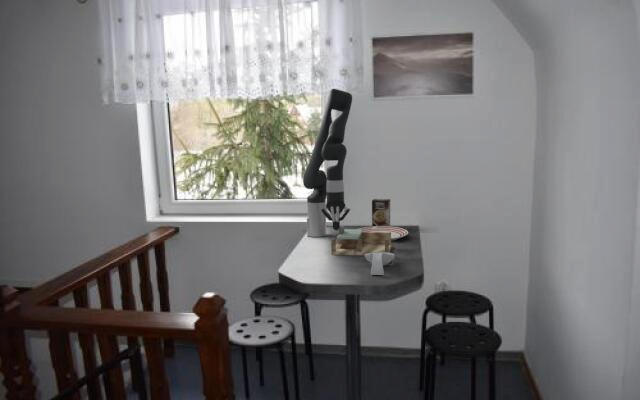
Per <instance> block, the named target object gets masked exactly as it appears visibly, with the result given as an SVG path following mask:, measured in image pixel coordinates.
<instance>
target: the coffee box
mask: <svg viewBox="0 0 640 400" xmlns="http://www.w3.org/2000/svg"><path fill="white" fill-rule="evenodd" d="M374 226H390V227H391V199H390V198H387V199H386V198H384V199H383V198H374V199H371V227H374Z"/></svg>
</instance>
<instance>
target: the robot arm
mask: <svg viewBox="0 0 640 400" xmlns="http://www.w3.org/2000/svg"><path fill="white" fill-rule="evenodd" d="M352 103H353V95H352V93H350V92H347V91H344V90H340V89H338V88H337V89H336V88H331V90H330V91H329V93H328V95H327V100H326V104H325V108H324V112H323V116H322V119H321V124H320V127H319V130H318V133H317V136H316V138H315V142H314V146H313V150H312V153H311V156H310V159H309V162H308V164H307V166H306V169H305V172H304V174H303V178H302V183H303V186H304V188H305V189H307V190H313V192H312V193H311V194H310V195H308V196H307V198H306V201H307V202H306V203H307V205H306V206H307V217H306V233H307V237H311V238H319V237H320V238H321V237H325V236H327V220H328V221H331V222H332V229H333V230H334V231H339V227H340V225H341V223H340V222H341V221H343V220H344V219H345V218H346V217H347V215H348V214H349V213H350V211H351V208H348V207H347V206H346V203H345V183H344V166H345V165H344V164H345V162H346V161H345V160H346V156H347V146H346V145H345V144H343V143H344V142H345V141H344V140H345V132H346V126H347V122H348V121H349V120H348V119H349V115H350V111H351V108H352ZM334 110H335V111H337V112H340V113H341V114H339V116H337V117H336V118H335V119H334V120H333V118H332V111H334ZM325 161H328V162H329V161H332V162H333V161H336V162H337V163H336V164H335V165H331V166H328V167H326V172H325V171H324V170H322V169H321V167H322V164H323V163H325ZM343 211H344V213H343V214H342V212H343ZM330 214H331V215H330ZM341 214H342V216H341Z"/></svg>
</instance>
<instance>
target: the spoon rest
mask: <svg viewBox="0 0 640 400" xmlns="http://www.w3.org/2000/svg"><path fill="white" fill-rule="evenodd" d="M364 258H365V259H366V260H367V262H368V263H370V264H371V268H370V276H372V275H383V276H385V273H384V272H385V271H384V266H387V265H388V264H390V263H391V262H392V261H393V259H394V258H395V254H394V253H392V252H390V253H387V252H375V253H367V254H365V255H364ZM386 264H387V265H386Z"/></svg>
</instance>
